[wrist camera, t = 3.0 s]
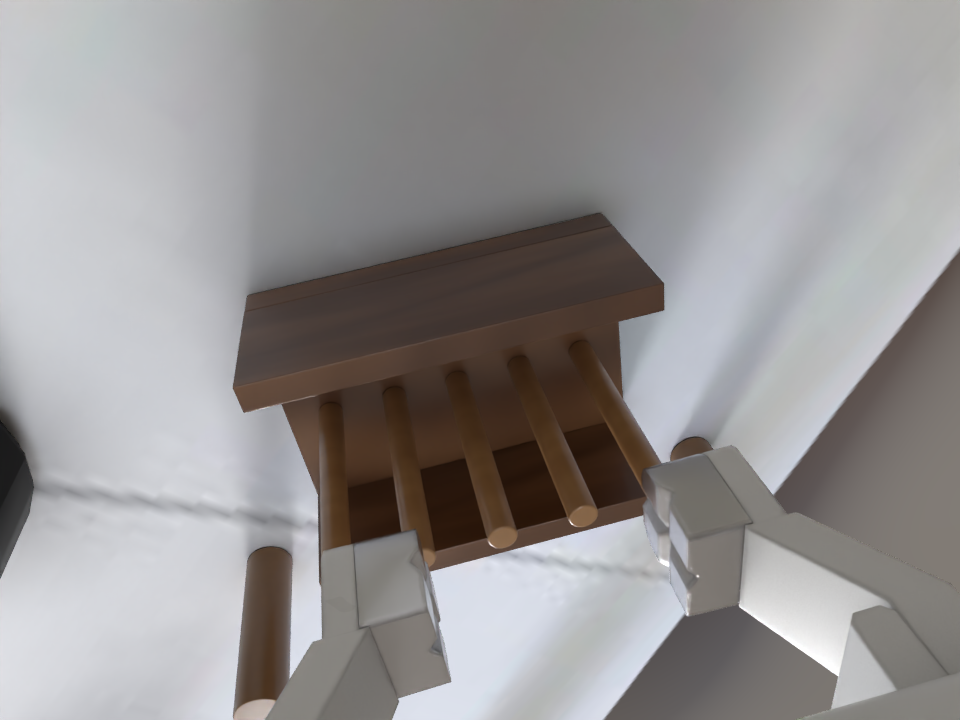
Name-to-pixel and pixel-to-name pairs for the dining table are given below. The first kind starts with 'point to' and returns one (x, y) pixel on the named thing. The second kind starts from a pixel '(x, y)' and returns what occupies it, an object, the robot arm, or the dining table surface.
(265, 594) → the marker posts
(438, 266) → the plate rack
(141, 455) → the dining table surface
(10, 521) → the coffee jar
